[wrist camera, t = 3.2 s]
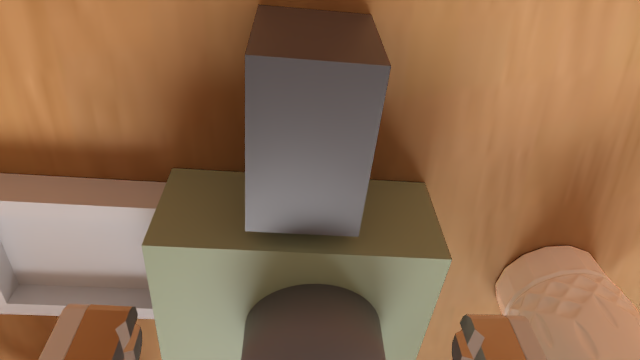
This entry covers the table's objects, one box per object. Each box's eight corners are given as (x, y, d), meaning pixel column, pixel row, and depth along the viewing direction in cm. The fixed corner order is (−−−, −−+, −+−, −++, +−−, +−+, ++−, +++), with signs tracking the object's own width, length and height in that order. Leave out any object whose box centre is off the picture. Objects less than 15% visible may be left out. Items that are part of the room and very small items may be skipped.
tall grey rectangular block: (370, 13, 21) (391, 66, 16) (347, 161, 26) (358, 236, 21) (258, 4, 21) (244, 54, 16) (256, 156, 25) (245, 231, 20)
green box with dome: (424, 182, 26) (478, 333, 18) (389, 308, 33) (418, 461, 25) (-42, 155, 25) (-212, 310, 16) (17, 294, 31) (-84, 456, 23)
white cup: (476, 319, 34) (531, 469, 26) (497, 240, 29) (571, 391, 21) (585, 314, 34) (673, 462, 26) (622, 234, 29) (744, 383, 21)
